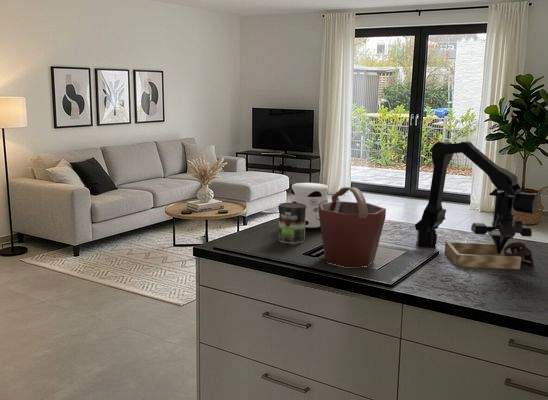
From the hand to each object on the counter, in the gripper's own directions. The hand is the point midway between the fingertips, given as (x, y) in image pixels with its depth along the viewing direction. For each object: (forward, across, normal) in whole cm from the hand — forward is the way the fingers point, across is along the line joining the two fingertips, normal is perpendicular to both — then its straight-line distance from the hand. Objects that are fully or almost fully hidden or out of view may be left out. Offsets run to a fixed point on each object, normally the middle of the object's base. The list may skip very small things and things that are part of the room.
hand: (498, 253), depth 190 cm
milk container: (+3, -67, +39) cm, 77 cm away
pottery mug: (+3, +6, 0) cm, 7 cm away
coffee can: (+3, -73, +15) cm, 74 cm away
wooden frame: (+3, -6, 0) cm, 6 cm away
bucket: (+3, -52, -8) cm, 52 cm away
